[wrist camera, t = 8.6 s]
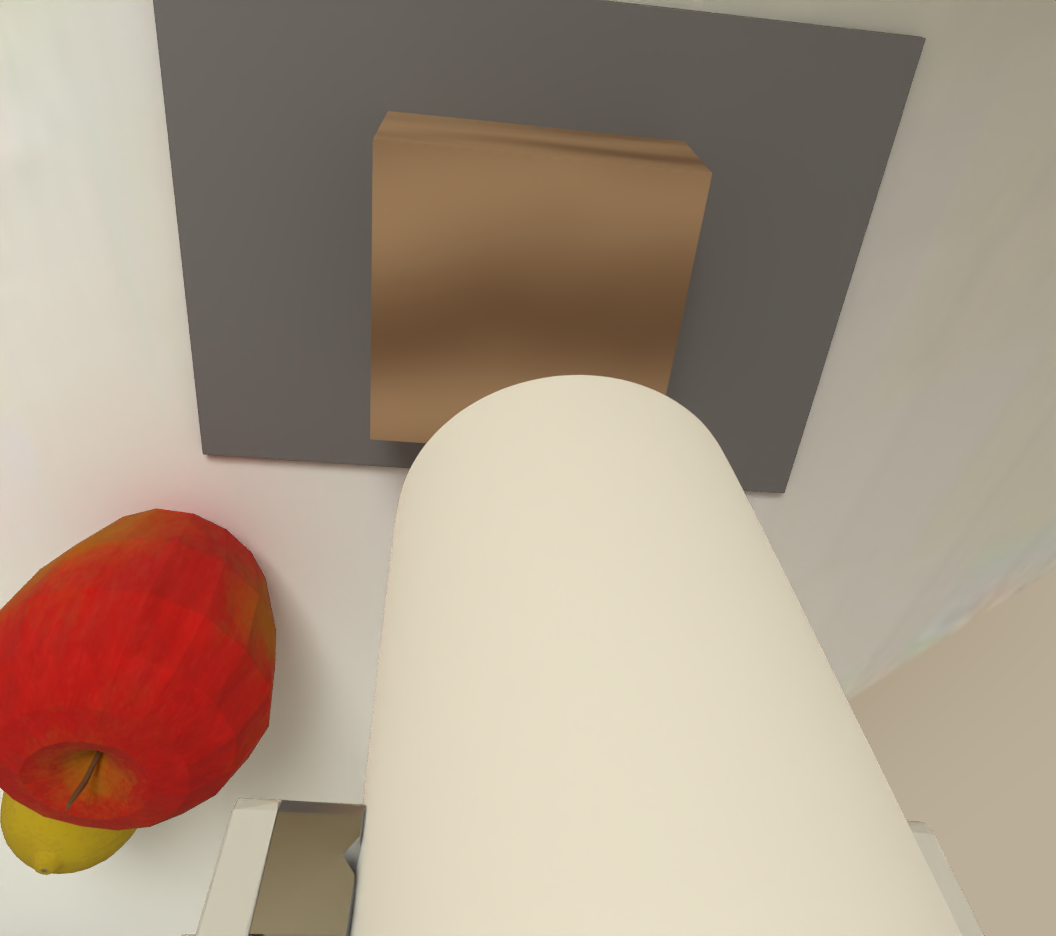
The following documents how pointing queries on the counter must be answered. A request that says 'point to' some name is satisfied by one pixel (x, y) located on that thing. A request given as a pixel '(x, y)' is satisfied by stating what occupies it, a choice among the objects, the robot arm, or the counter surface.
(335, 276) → the mat
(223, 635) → the apple
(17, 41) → the counter surface
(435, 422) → the plinth
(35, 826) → the lemon
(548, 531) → the can
